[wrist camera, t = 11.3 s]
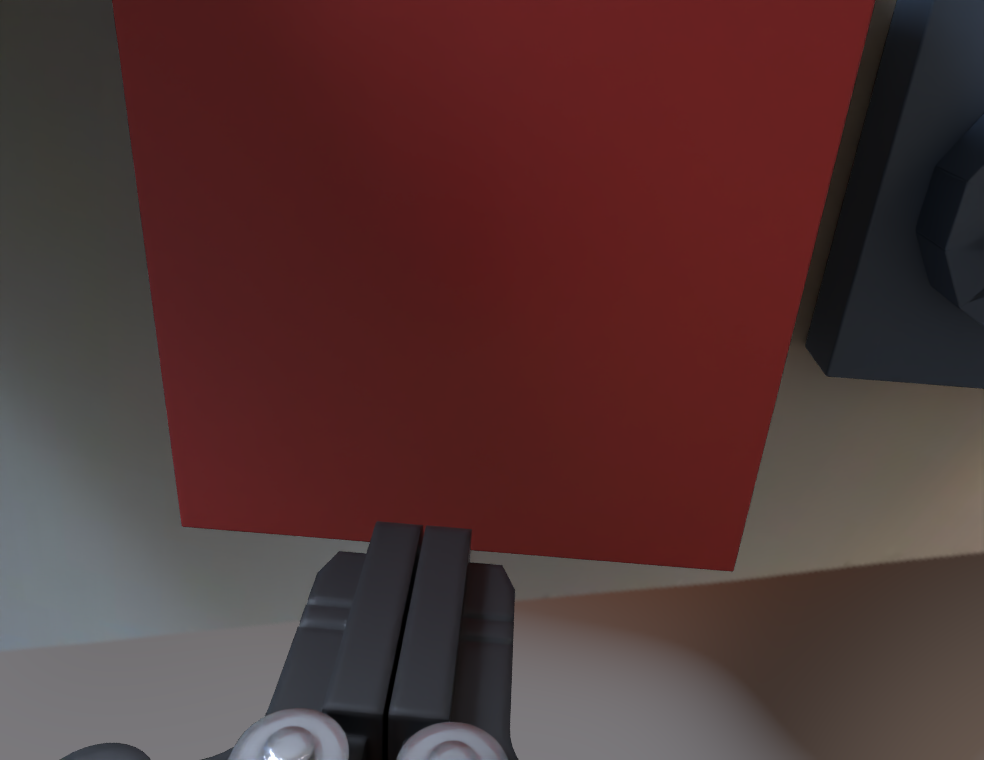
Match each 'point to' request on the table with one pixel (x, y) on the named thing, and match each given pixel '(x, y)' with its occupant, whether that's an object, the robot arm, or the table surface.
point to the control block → (913, 212)
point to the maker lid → (482, 258)
